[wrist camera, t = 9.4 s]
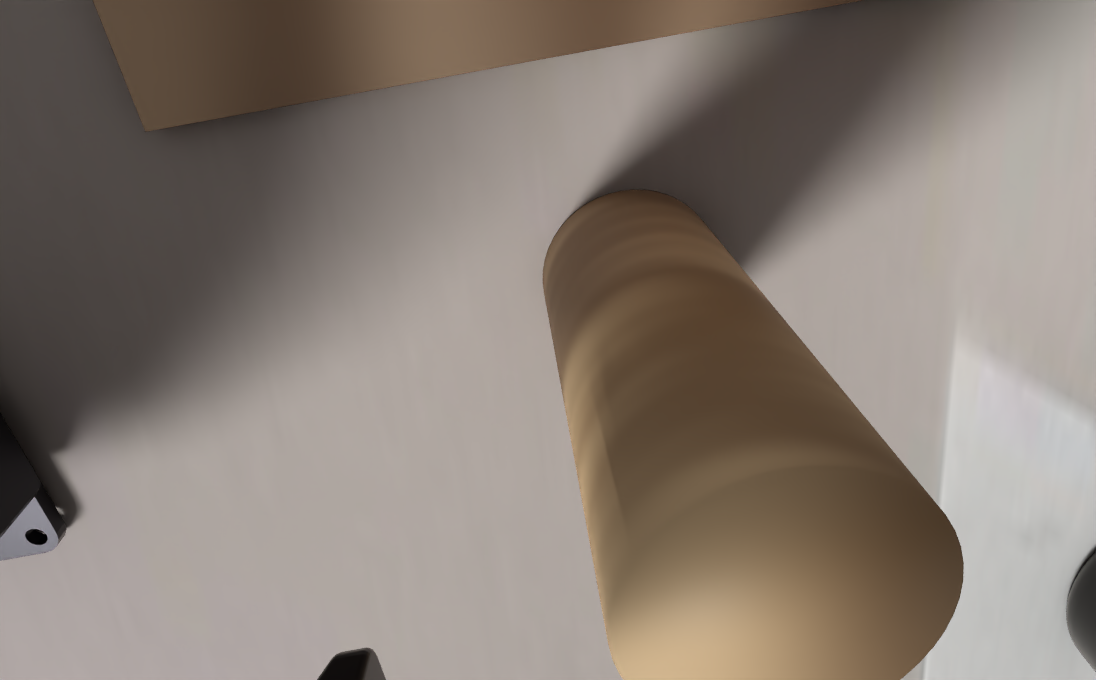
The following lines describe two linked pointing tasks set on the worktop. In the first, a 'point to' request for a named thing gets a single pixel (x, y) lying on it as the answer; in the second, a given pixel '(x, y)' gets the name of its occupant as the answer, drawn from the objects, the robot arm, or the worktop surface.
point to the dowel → (730, 469)
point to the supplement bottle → (1084, 611)
